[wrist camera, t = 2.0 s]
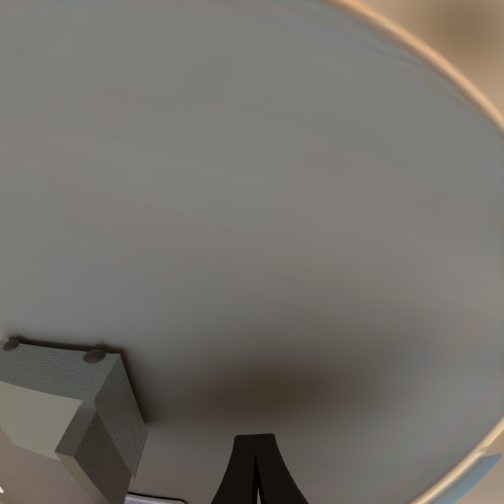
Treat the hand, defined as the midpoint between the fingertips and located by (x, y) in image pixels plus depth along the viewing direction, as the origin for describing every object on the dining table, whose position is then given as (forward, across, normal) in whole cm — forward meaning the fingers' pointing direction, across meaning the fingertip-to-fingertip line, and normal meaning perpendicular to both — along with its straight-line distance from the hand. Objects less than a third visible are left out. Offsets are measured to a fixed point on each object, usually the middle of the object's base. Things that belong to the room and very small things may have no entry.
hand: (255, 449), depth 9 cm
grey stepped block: (+4, +10, 0) cm, 10 cm away
